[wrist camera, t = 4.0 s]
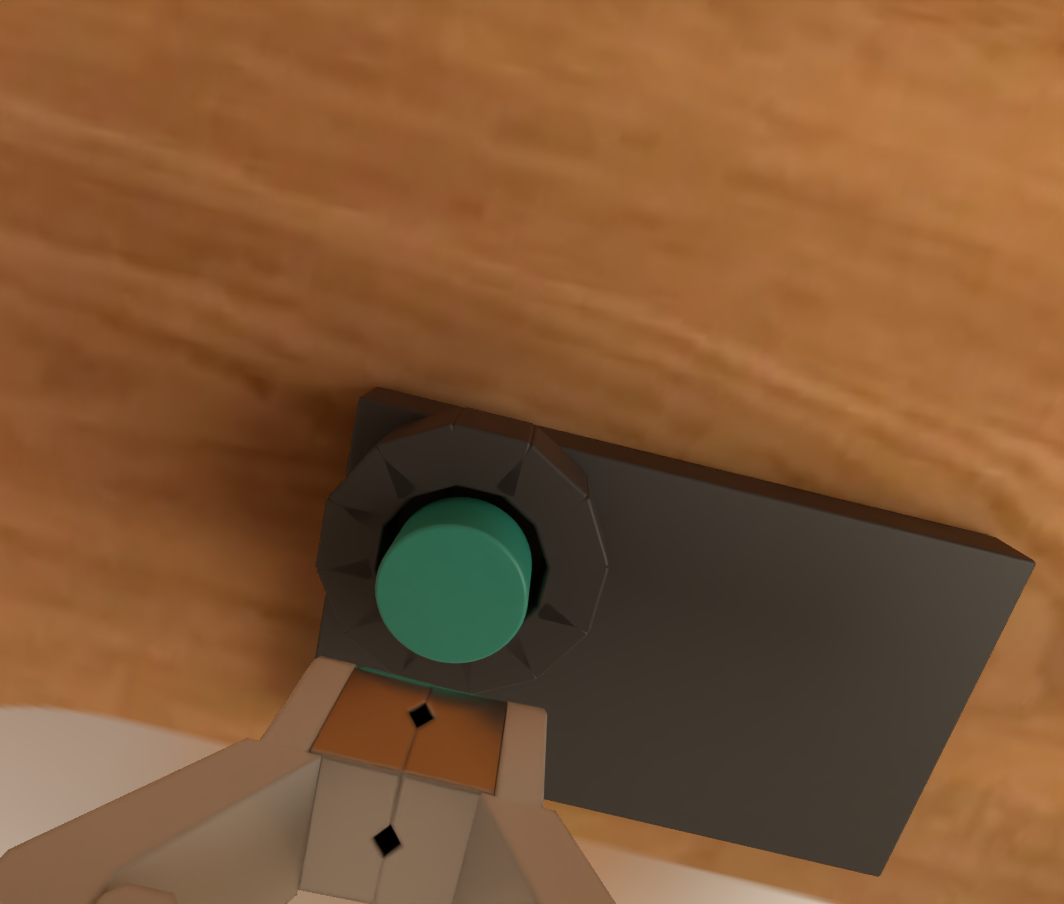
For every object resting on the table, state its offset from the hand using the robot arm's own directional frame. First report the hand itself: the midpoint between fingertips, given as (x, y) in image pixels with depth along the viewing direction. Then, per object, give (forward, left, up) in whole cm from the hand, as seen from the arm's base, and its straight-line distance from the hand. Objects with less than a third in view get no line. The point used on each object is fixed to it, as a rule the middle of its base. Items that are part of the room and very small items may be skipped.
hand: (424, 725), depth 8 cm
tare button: (0, 0, -5) cm, 5 cm away
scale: (+4, -2, -8) cm, 9 cm away
